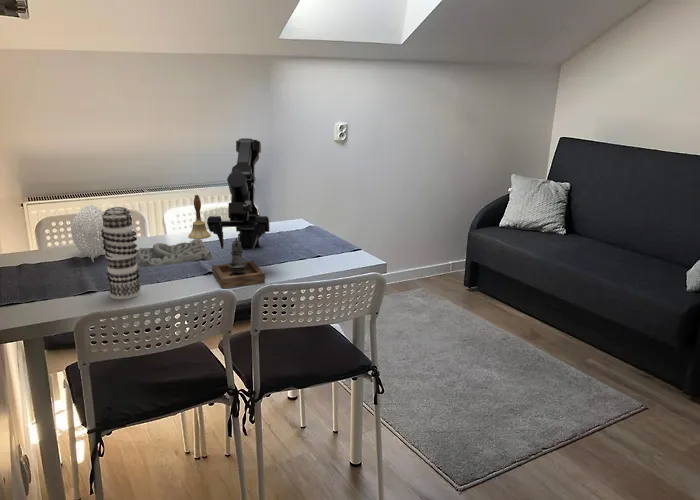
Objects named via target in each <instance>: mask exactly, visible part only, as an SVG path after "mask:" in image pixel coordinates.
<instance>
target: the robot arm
mask: <svg viewBox="0 0 700 500" xmlns="http://www.w3.org/2000/svg"><path fill="white" fill-rule="evenodd" d="M235 144H236V145H235V151H236V153H238V154H237V159H236V164H235V165H234V166H232V168H231V172H230V173H229V175H228V176H227V179H226V181H227V185H228V188H229V192H230V196H231V198H230V202H228V206H227V207H228V209H227V211H228V219H229V220H222V217H221V216H219V215H218V216H217V215H215V216H214V215H210V216H208V218H207V219H206V221H207V222H206V226H207V227H208V232H209V233H213V234H214V235H216V236H217V238H218V241H219V243H220V247H221V249H222V250H224V232H223V229H224V228H226V227H227V228H229V227H230V228H232V227H234V228H235V230H236V232H237V233H238V234H237V240H238V241H240V242H241V250H251V249H252V250H253V249H258V248H259V249H260V248H261V245H260V240H259V239H260V238H261V236H262V235H265V234H266V233H269V232H270V227H271V226H270V219H269V217H268V216H267V215H263V216H262V215H260V214H259V210H258V208H257V207H256V204H255V183H256V176H255V172H256V171H255V169H256V168H255V165H256V164H257V162H258V161H259V159H260V153H262V143H261V141H259V140H258V139H252V138H244V137H243V138H239V139H238V140H236V141H235Z"/></svg>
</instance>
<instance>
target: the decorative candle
mask: <svg viewBox="0 0 700 500" xmlns="http://www.w3.org/2000/svg"><path fill="white" fill-rule="evenodd" d="M132 215H133V212H132V211H130V210H129V209H128V208H127V207H125V206H112V207H110V208H107V209H105V211H104V212H103V214H102V215H101V216H102V217H103V229H101V230H102V231H101V232H102V235H101V238H102V237H103V239H104V240H103V244H104V247H103V249H104V257H105V258H106V259H107V260H106V261H107V271H106V272H107V273H106V276H107V279H106V280H107V281H108V284H107V287H108V292H109V297H110V298H112V299H113V300H114V299H116V300H128V299H133V298H135V297H137V296H139V295H141V292H142V291H141V287H142V286H141V285H140V283H141V280H140V279H139V278H140V274H139V272H140V269H139V268H138V262H137V258H136V257H137V256H136V255H137V250H138V249H137V246H138V245H137V244H136V243H135V242H136V241H137V240H138V238H137V237H136V235H137V232H136V231H134V223H133V217H132ZM103 231H104V232H103ZM101 232H100V233H101ZM104 234H105V236H104Z"/></svg>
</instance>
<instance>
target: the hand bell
mask: <svg viewBox="0 0 700 500" xmlns="http://www.w3.org/2000/svg"><path fill="white" fill-rule="evenodd" d="M200 198H201V197H200V195H199V194H194V198H193V208H194V210H195V221H193V222H192V228H191V232H190V233H189V234H188V238H190V239H192V238H193V240H195V239H200V240H205V239H208V238H210V237H211V236H212V235H211V232H210V231H209V230H208V229H207V227H206V226H207V225H206V222H205V221H203V220H202V218H201V217H202V216H201V208H202V202H201V199H200ZM204 238H205V239H204Z"/></svg>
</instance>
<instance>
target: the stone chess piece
mask: <svg viewBox="0 0 700 500" xmlns="http://www.w3.org/2000/svg"><path fill="white" fill-rule="evenodd" d="M243 252H244V251H242V248H241V242H240V241H238V237H236V238H235V240H234V241H232V242H231V252H230V254H231V262H229V263H227V264H228V266H229V269H230V271H231V272H233V273H231V274H230V275H229V276H236V275H244V274H246V273H244V271H245V269H246V265H247V263H246V261H244V259H243V254H244V253H243Z"/></svg>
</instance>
